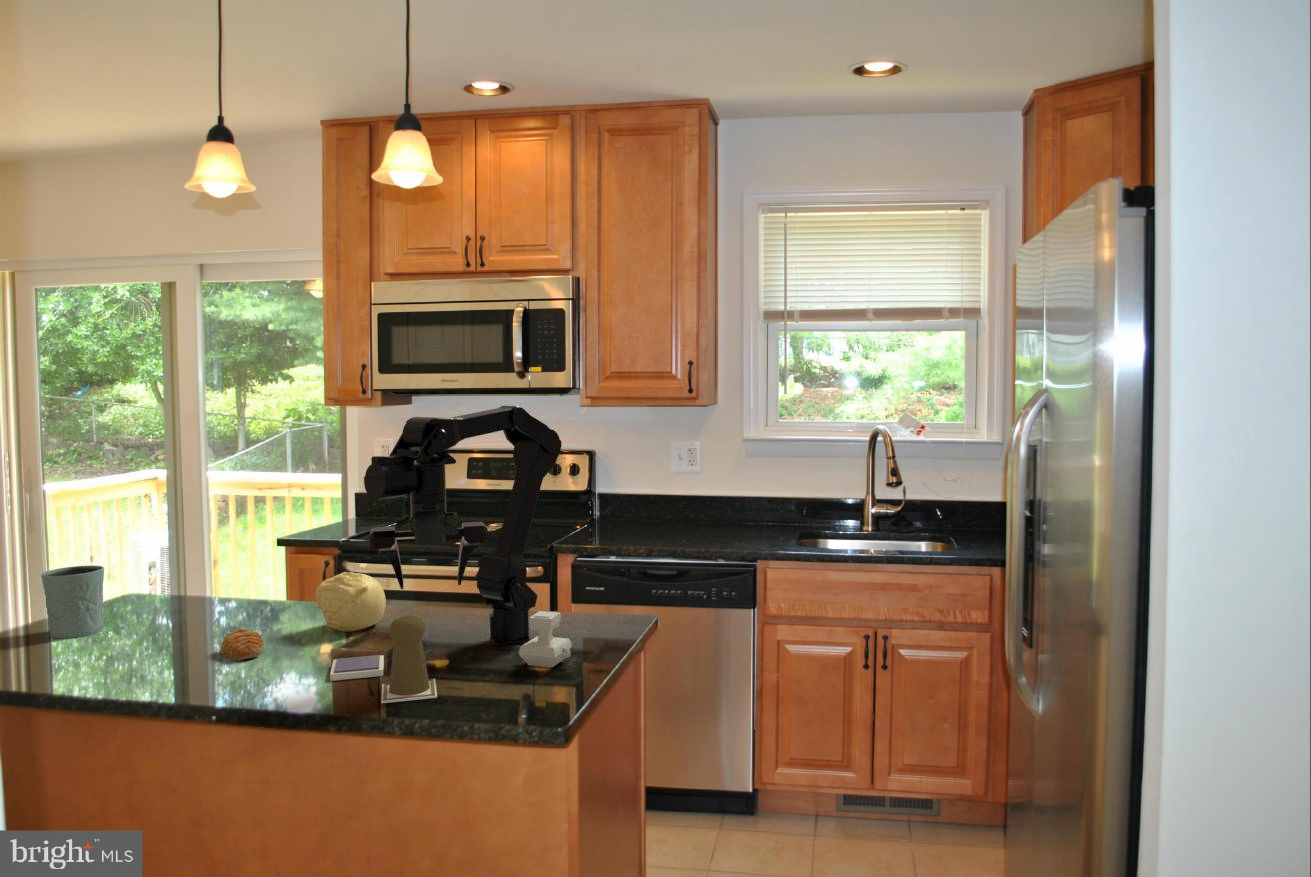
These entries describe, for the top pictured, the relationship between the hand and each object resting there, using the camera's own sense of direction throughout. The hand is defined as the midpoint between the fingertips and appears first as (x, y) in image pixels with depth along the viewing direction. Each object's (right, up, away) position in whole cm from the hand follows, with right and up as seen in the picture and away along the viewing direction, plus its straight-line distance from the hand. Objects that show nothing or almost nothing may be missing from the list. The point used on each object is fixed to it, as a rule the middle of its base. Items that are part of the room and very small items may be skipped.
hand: (430, 586), depth 155 cm
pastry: (-35, -13, +9) cm, 38 cm away
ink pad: (-11, -13, -2) cm, 18 cm away
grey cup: (-73, -13, +24) cm, 78 cm away
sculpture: (-21, -12, +24) cm, 34 cm away
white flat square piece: (0, -14, -13) cm, 19 cm away
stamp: (+19, -13, 0) cm, 23 cm away
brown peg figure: (0, -14, -12) cm, 18 cm away
